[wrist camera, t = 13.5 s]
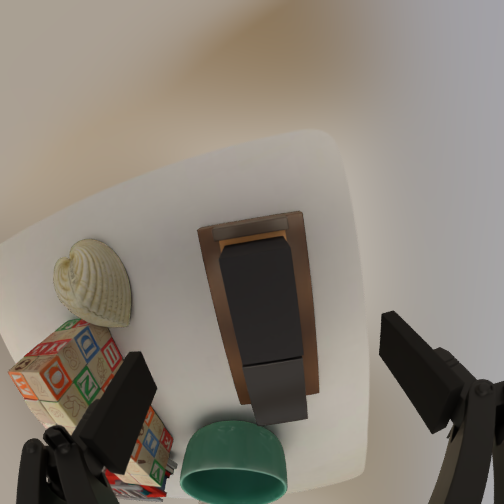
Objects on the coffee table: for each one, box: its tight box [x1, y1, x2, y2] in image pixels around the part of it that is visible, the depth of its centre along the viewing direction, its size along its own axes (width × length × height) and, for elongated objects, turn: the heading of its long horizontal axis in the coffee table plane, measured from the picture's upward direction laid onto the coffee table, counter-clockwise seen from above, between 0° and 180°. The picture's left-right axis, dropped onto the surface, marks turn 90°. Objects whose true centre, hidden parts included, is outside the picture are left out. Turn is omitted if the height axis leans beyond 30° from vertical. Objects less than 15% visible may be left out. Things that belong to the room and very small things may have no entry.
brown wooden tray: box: [197, 211, 319, 426], centre depth 24 cm, size 20×9×6 cm, turn 10°
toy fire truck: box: [102, 458, 178, 502], centre depth 28 cm, size 9×19×10 cm, turn 124°
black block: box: [218, 236, 304, 365], centre depth 22 cm, size 9×5×4 cm, turn 10°
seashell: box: [53, 239, 131, 328], centre depth 23 cm, size 8×8×8 cm
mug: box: [180, 421, 287, 504], centre depth 27 cm, size 17×13×10 cm
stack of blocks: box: [8, 318, 173, 487], centre depth 23 cm, size 21×6×12 cm, turn 16°
